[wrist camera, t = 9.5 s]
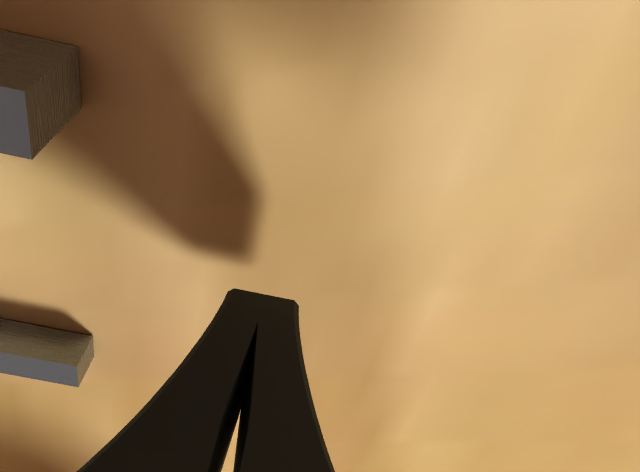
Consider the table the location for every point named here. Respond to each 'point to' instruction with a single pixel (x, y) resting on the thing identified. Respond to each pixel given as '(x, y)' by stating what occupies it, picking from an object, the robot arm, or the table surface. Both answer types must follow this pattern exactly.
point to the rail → (27, 141)
